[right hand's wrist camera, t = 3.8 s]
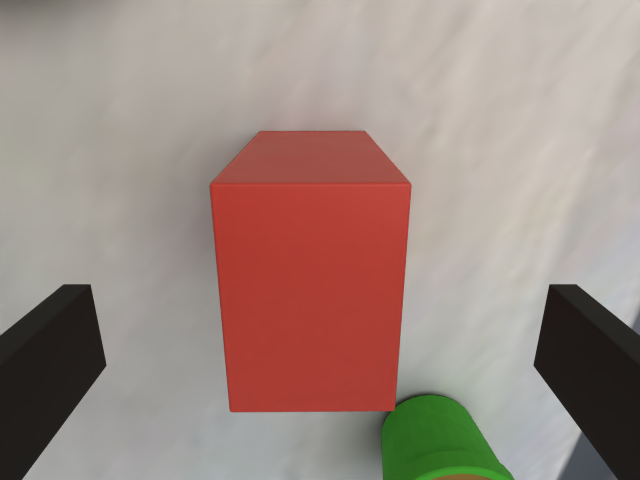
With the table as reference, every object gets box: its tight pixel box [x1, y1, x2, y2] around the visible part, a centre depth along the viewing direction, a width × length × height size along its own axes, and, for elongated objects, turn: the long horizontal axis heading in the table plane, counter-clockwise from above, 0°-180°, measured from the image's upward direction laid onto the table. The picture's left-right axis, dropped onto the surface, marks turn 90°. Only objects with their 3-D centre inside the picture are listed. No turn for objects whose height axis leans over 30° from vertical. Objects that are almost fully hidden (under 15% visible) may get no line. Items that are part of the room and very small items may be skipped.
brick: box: [210, 131, 411, 412], centre depth 19 cm, size 6×8×12 cm
